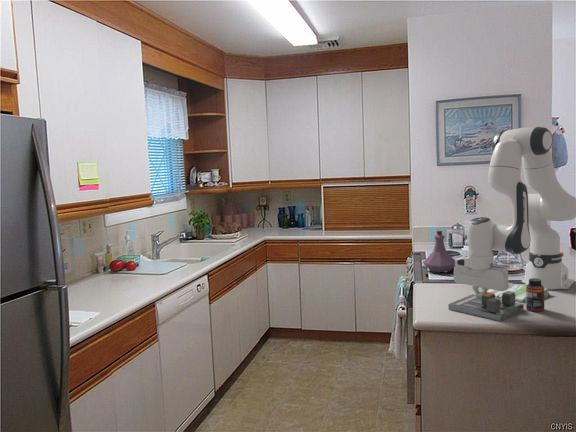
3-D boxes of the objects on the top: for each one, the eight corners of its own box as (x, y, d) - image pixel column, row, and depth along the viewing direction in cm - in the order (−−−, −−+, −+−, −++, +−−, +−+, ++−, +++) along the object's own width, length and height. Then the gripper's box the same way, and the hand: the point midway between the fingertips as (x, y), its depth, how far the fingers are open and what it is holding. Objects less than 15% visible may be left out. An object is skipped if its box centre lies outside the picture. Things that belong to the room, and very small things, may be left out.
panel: (472, 299, 191) (472, 293, 191) (523, 309, 176) (523, 303, 176) (448, 309, 181) (448, 303, 180) (500, 321, 165) (500, 315, 165)
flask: (456, 267, 245) (455, 228, 243) (459, 275, 229) (458, 233, 227) (422, 267, 249) (421, 228, 247) (423, 274, 234) (422, 234, 231)
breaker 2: (507, 301, 179) (507, 290, 179) (515, 302, 177) (515, 292, 176) (502, 303, 177) (502, 293, 176) (510, 305, 174) (510, 294, 174)
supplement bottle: (538, 306, 178) (538, 276, 177) (547, 311, 172) (548, 280, 171) (522, 307, 178) (522, 277, 177) (531, 312, 172) (531, 281, 171)
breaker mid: (487, 302, 180) (487, 291, 179) (495, 303, 177) (495, 293, 177) (481, 304, 177) (481, 293, 177) (489, 306, 175) (489, 295, 174)
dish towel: (528, 305, 182) (528, 296, 181) (473, 293, 200) (473, 285, 200) (550, 296, 192) (550, 287, 191) (496, 285, 210) (496, 277, 210)
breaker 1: (492, 308, 172) (492, 297, 172) (500, 309, 170) (500, 298, 170) (486, 310, 170) (486, 299, 169) (494, 312, 168) (494, 301, 167)
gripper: (512, 264, 172) (512, 301, 173) (460, 257, 188) (460, 291, 189) (503, 267, 168) (503, 305, 169) (451, 259, 184) (451, 295, 185)
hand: (480, 298), depth 179 cm, fingers closed
